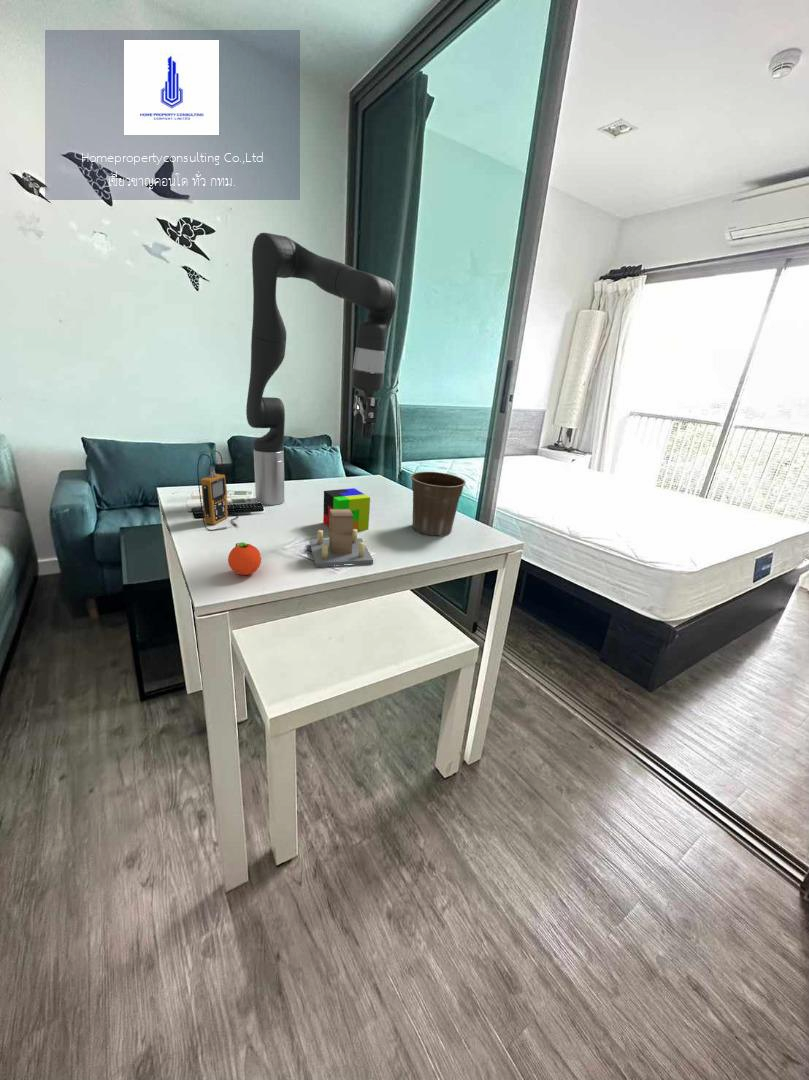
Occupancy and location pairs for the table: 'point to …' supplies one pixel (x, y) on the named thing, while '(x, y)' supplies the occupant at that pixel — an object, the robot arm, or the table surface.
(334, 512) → the walnut block
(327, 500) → the puzzle toy
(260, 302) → the robot arm
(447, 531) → the plant pot
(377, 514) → the table surface
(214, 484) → the multimeter
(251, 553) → the clementine
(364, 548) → the pin plate
